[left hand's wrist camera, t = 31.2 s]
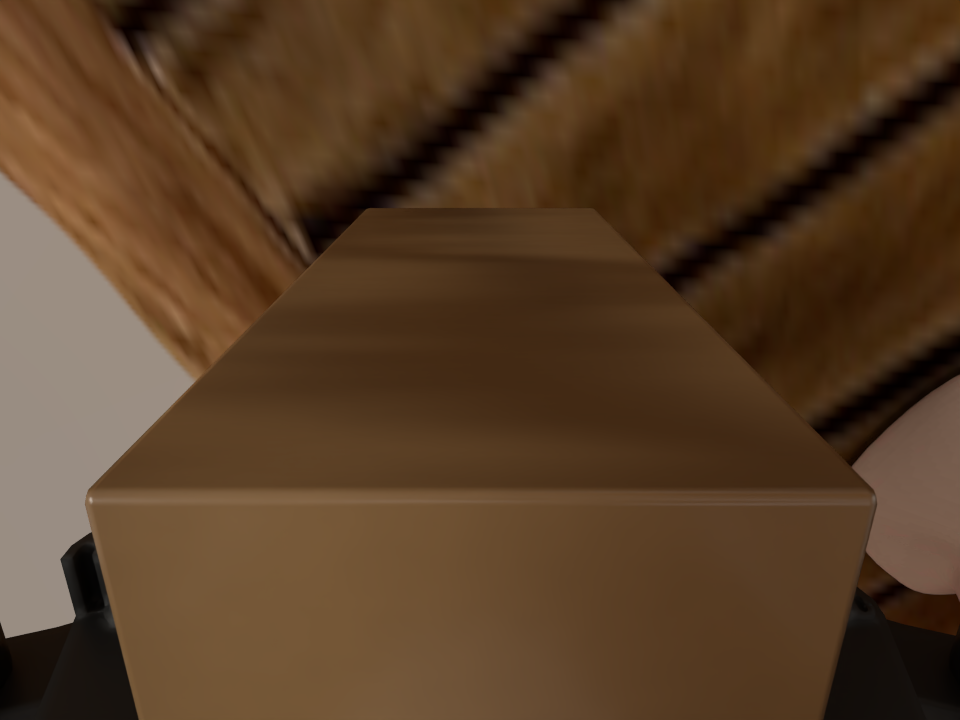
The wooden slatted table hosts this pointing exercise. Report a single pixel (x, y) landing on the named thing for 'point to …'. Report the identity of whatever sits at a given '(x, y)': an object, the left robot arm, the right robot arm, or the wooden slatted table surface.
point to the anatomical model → (918, 493)
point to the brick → (481, 498)
